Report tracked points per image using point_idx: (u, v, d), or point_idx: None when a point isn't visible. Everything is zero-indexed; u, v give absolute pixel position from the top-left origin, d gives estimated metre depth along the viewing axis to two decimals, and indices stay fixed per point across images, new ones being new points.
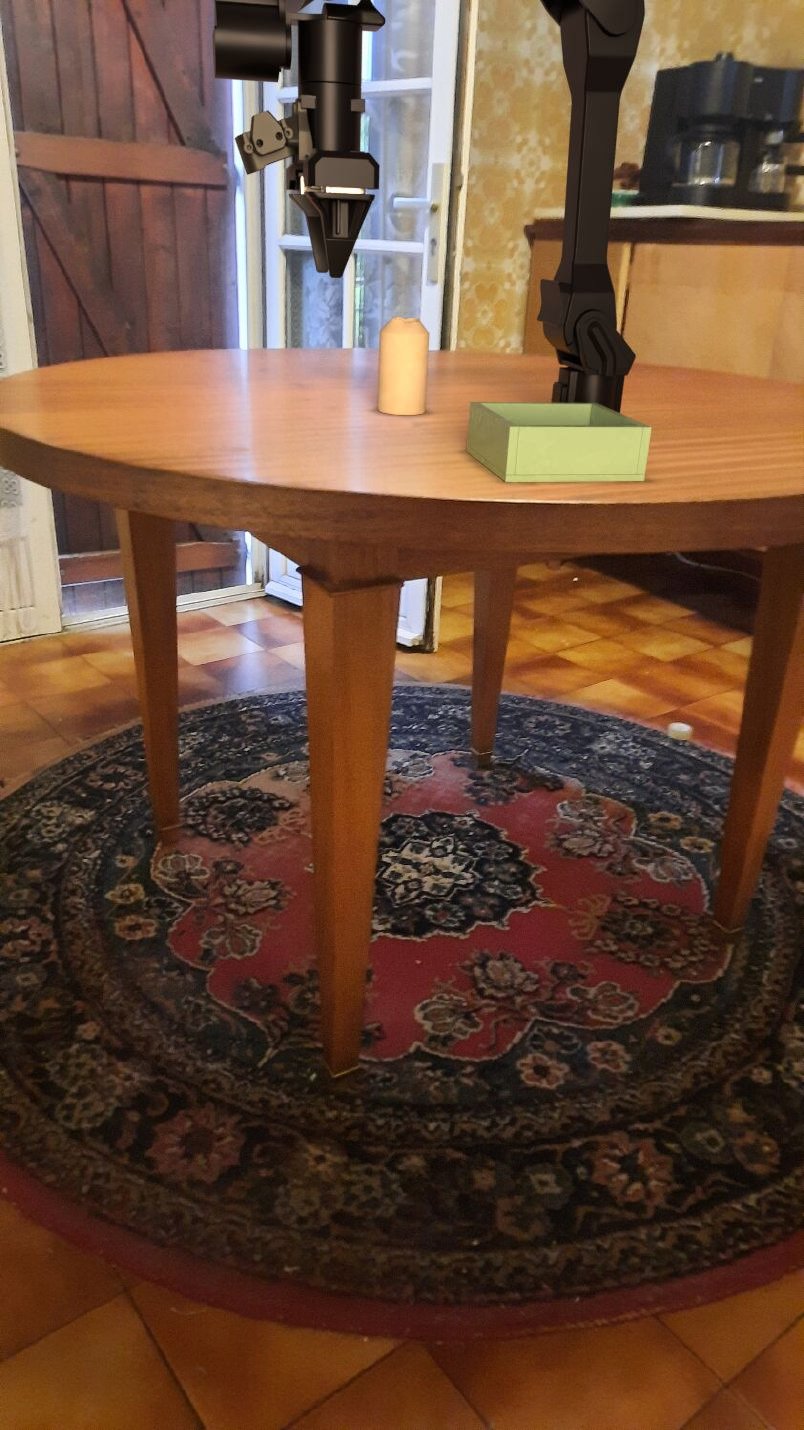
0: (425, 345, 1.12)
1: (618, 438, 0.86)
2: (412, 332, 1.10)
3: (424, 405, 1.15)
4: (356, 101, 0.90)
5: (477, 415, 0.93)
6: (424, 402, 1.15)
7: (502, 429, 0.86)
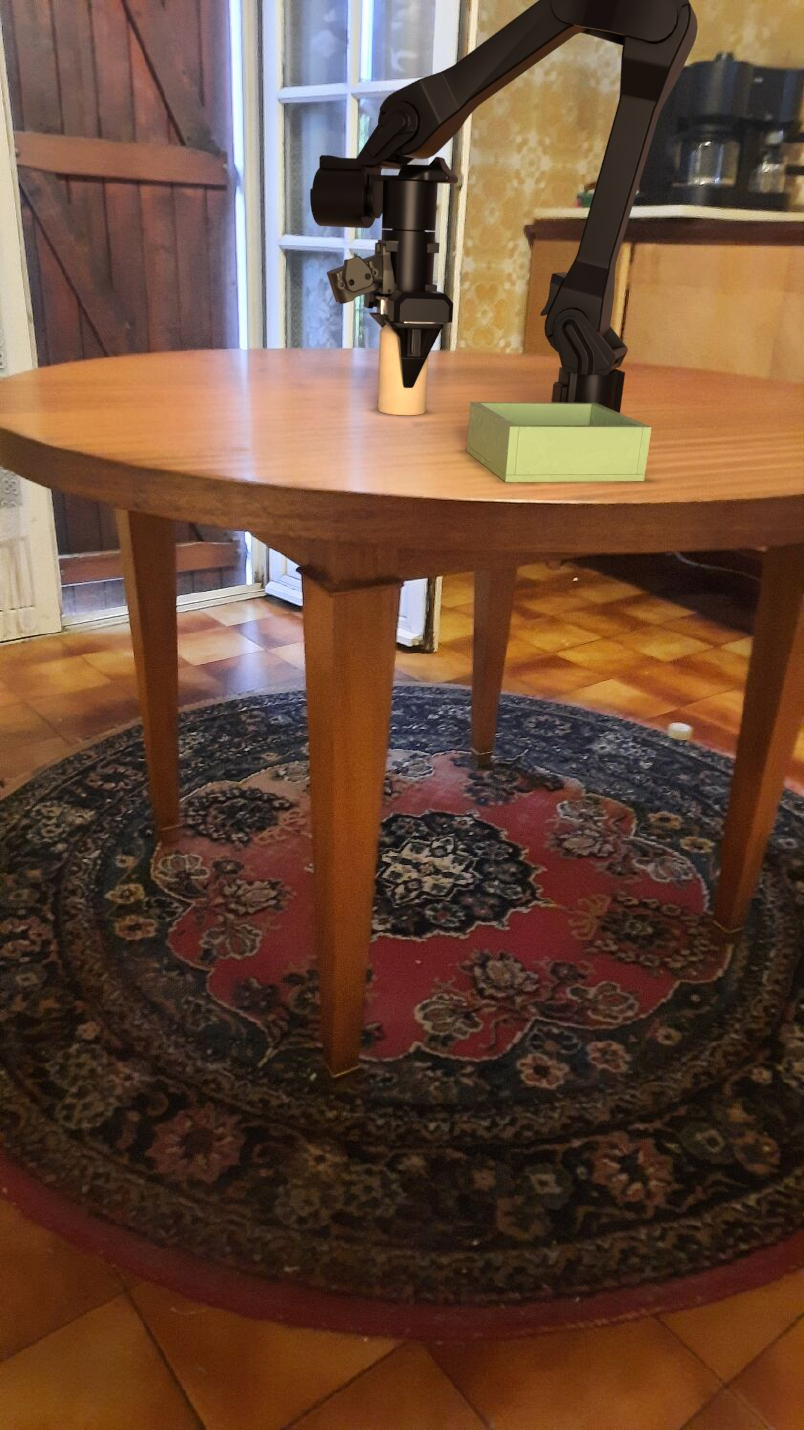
0: None
1: (618, 438, 0.86)
2: None
3: (424, 405, 1.15)
4: (432, 245, 1.07)
5: (477, 415, 0.93)
6: (424, 402, 1.15)
7: (502, 429, 0.86)
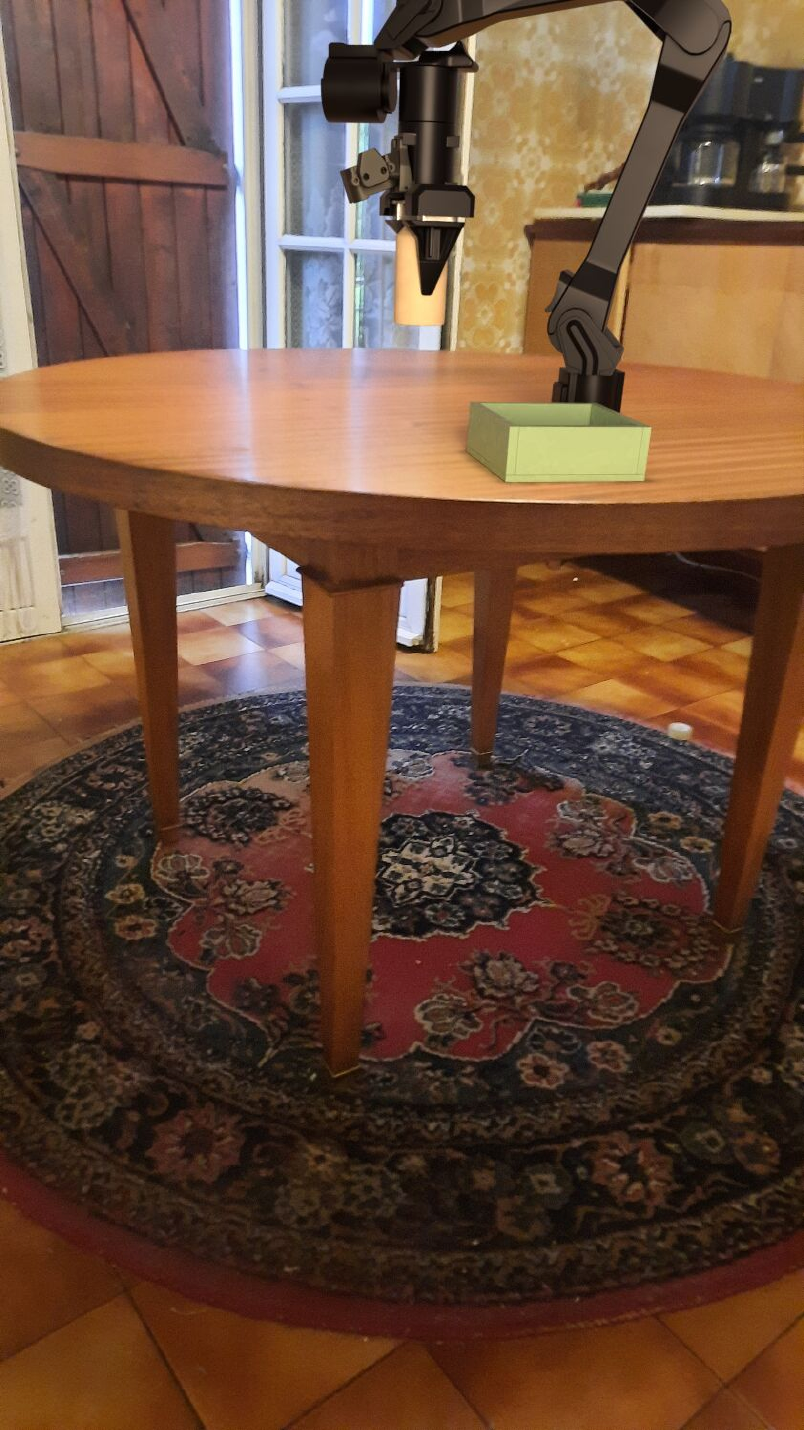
0: None
1: (618, 438, 0.86)
2: None
3: (443, 316, 1.08)
4: (451, 138, 1.00)
5: (477, 415, 0.93)
6: (443, 313, 1.08)
7: (502, 429, 0.86)
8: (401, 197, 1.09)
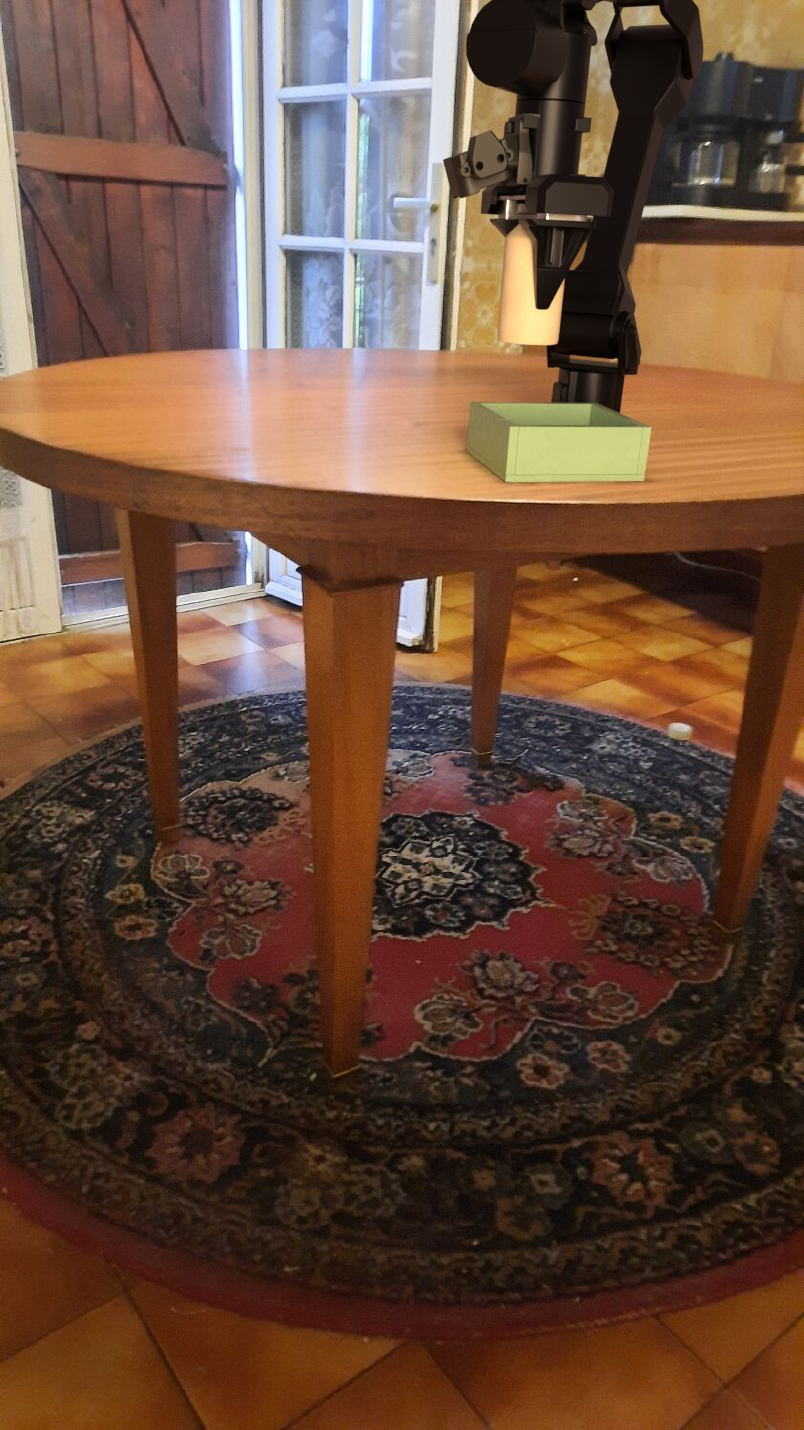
0: None
1: (618, 438, 0.86)
2: None
3: (558, 334, 0.91)
4: (582, 120, 0.83)
5: (477, 415, 0.93)
6: (558, 330, 0.91)
7: (502, 429, 0.86)
8: (510, 192, 0.92)
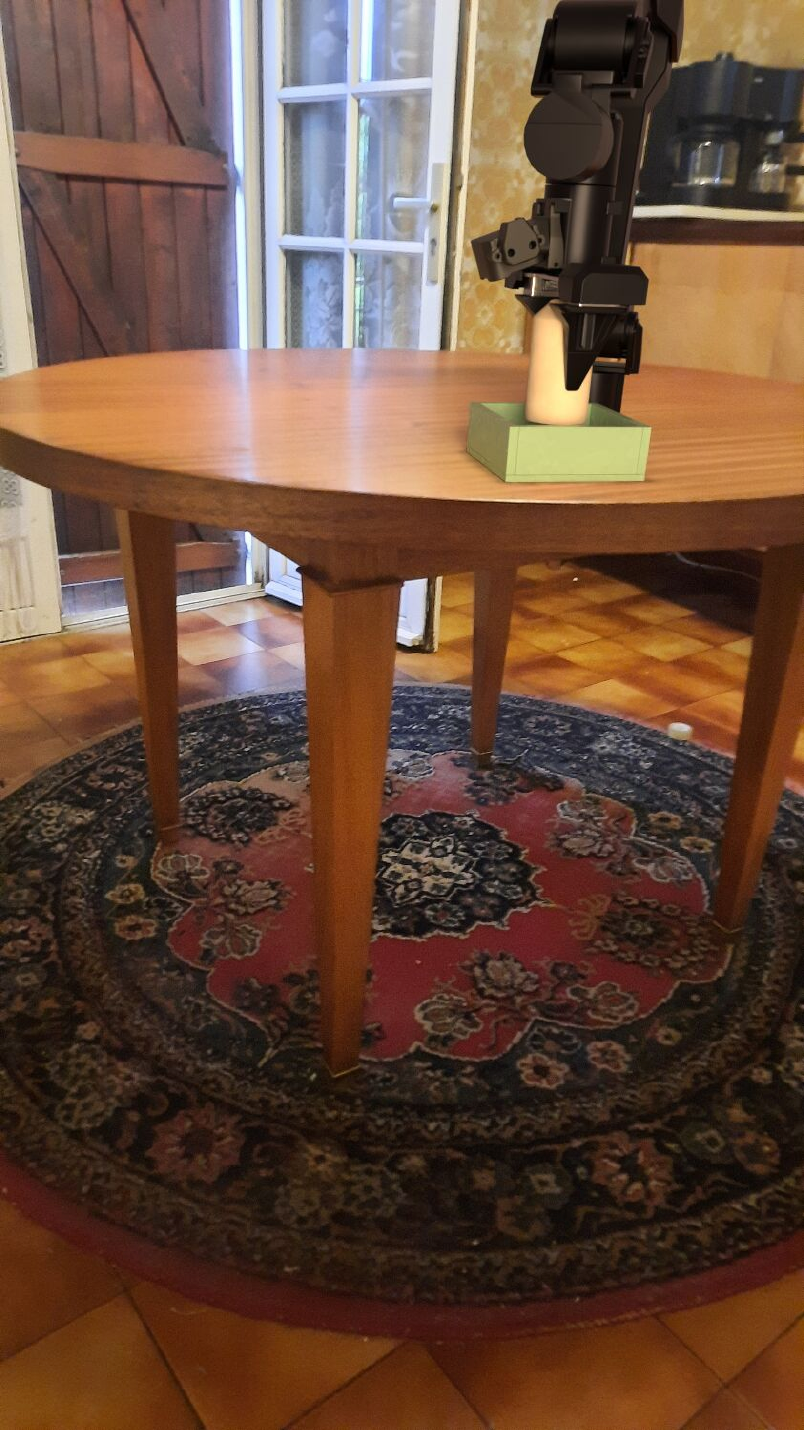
0: None
1: (618, 438, 0.86)
2: None
3: (586, 412, 0.90)
4: (613, 204, 0.82)
5: (477, 415, 0.93)
6: (586, 409, 0.89)
7: (502, 429, 0.86)
8: (536, 268, 0.90)
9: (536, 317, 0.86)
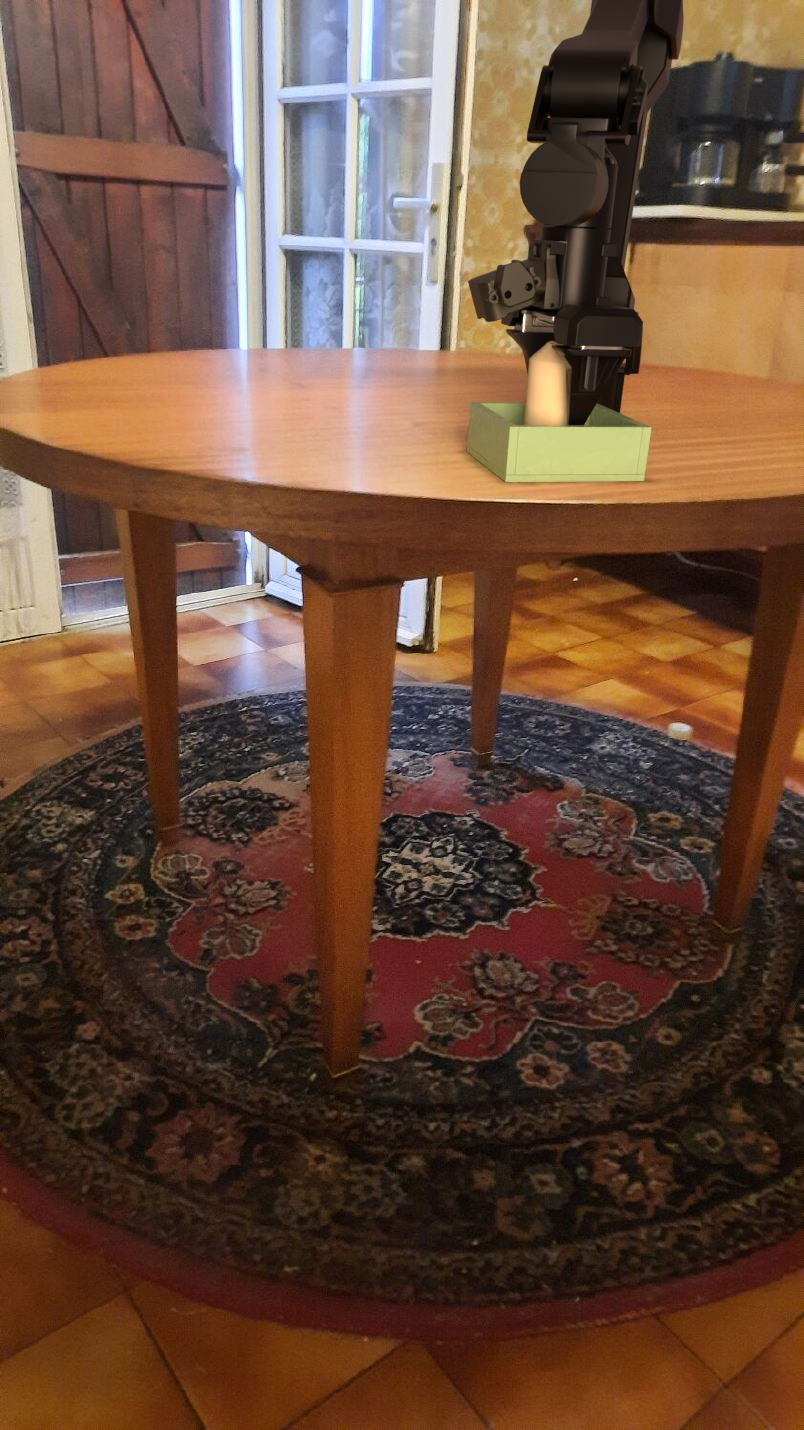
0: None
1: (618, 438, 0.86)
2: None
3: None
4: (608, 246, 0.83)
5: (477, 415, 0.93)
6: None
7: (502, 429, 0.86)
8: (532, 306, 0.91)
9: (532, 359, 0.88)
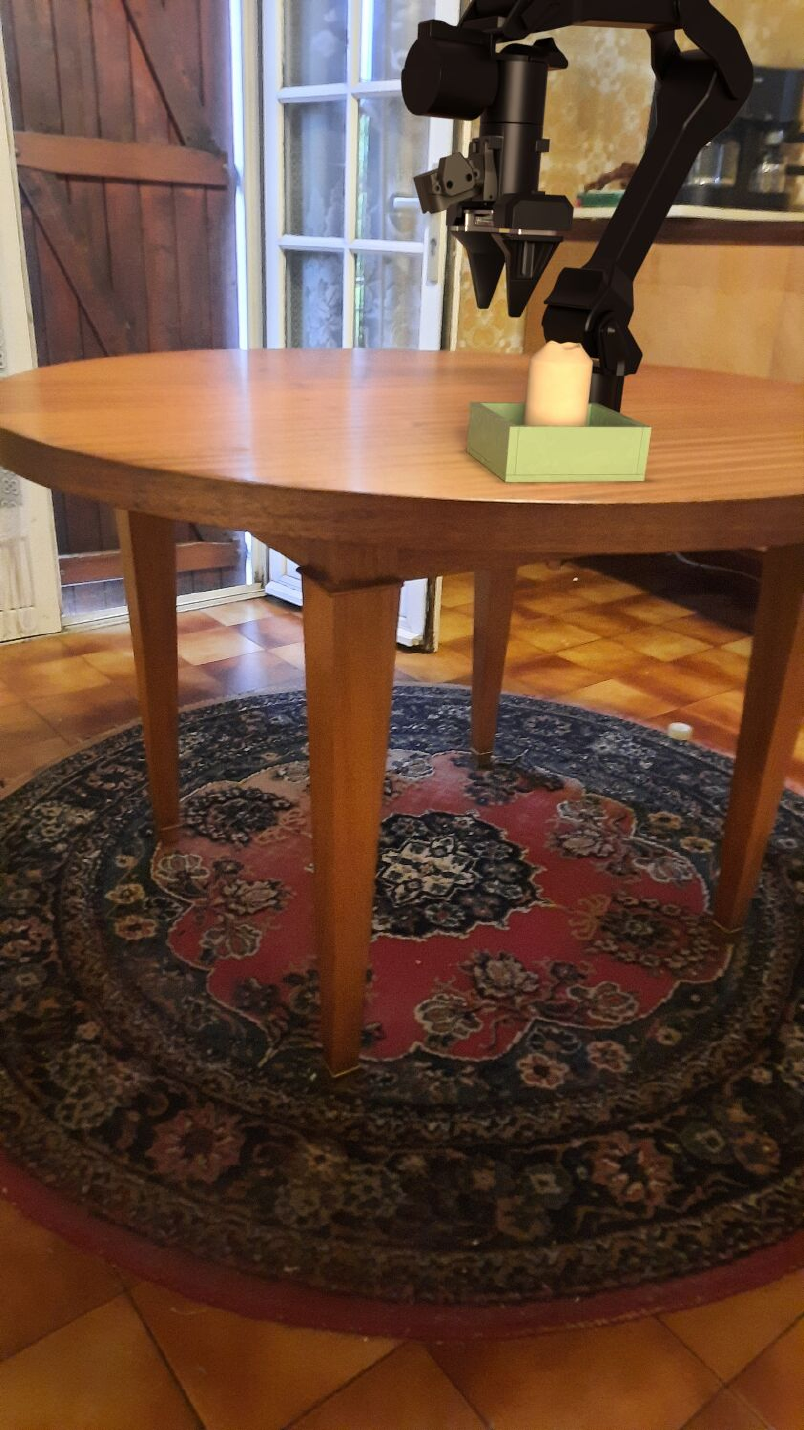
0: (589, 376, 0.88)
1: (618, 438, 0.86)
2: (575, 360, 0.86)
3: None
4: (541, 141, 0.90)
5: (477, 415, 0.93)
6: None
7: (502, 429, 0.86)
8: (474, 206, 0.98)
9: (532, 359, 0.88)
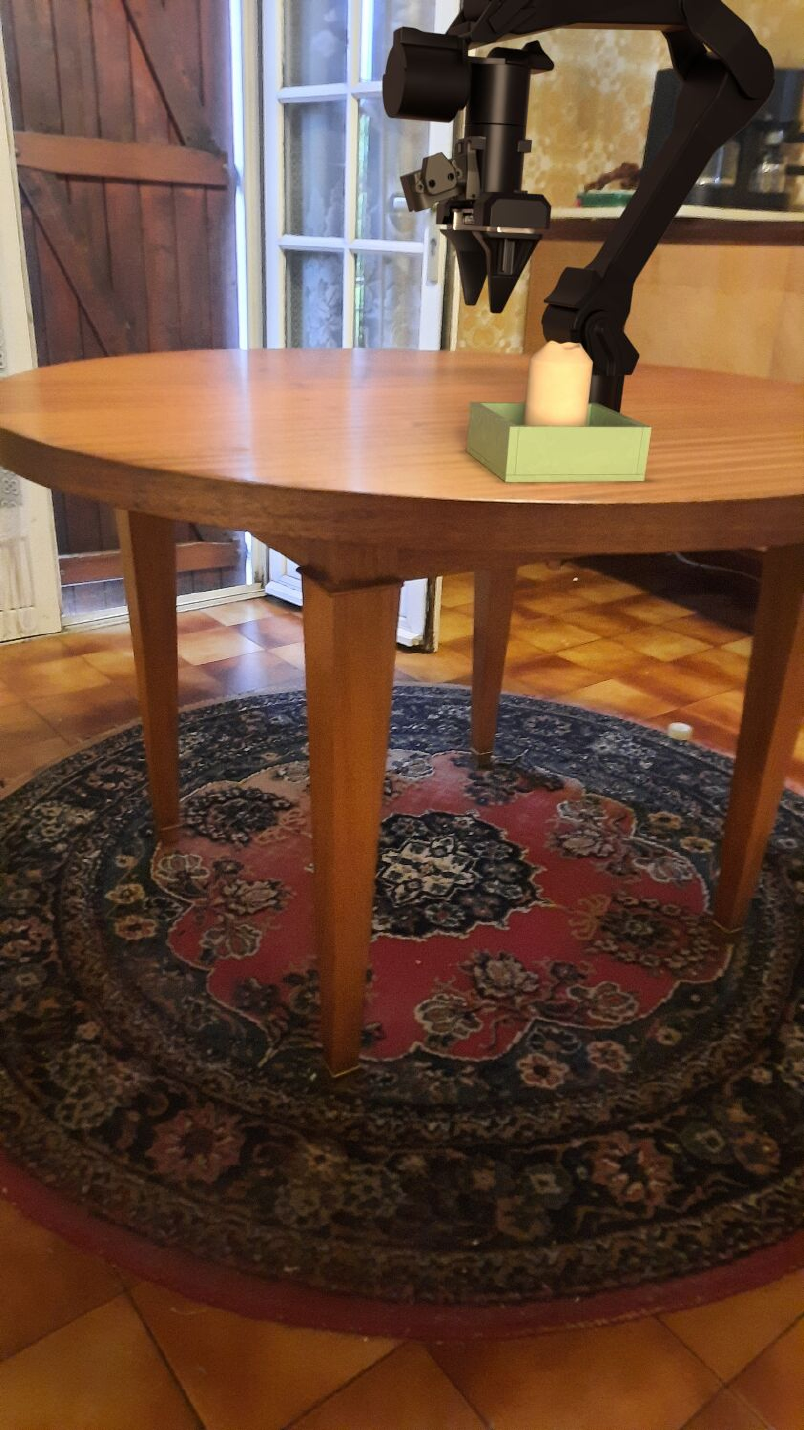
0: (589, 376, 0.88)
1: (618, 438, 0.86)
2: (575, 360, 0.86)
3: None
4: (523, 142, 0.92)
5: (477, 415, 0.93)
6: None
7: (502, 429, 0.86)
8: (462, 205, 1.01)
9: (532, 359, 0.88)
